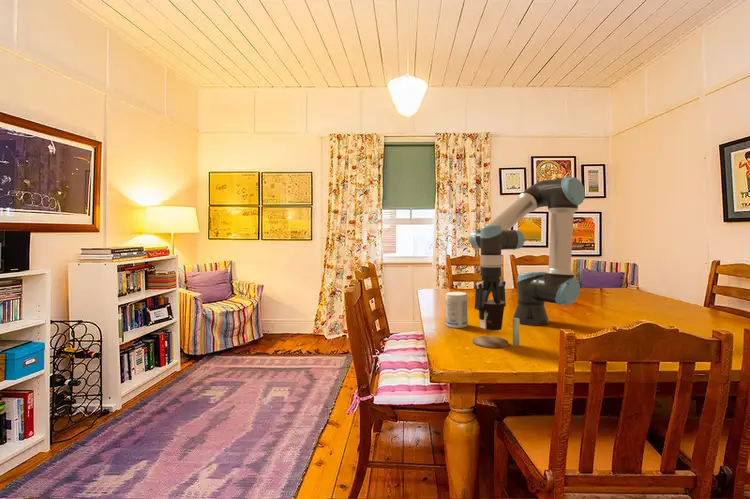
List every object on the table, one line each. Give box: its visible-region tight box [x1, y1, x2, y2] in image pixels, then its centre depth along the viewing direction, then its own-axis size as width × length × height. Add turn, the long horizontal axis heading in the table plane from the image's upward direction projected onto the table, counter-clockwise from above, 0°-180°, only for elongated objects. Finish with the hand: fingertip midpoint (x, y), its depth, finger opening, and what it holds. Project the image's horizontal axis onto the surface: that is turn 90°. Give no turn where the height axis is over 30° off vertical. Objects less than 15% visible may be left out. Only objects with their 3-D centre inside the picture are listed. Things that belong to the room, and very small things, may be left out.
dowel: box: [512, 317, 521, 347], centre depth 143 cm, size 2×2×10 cm
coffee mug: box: [484, 299, 505, 331], centre depth 146 cm, size 12×9×10 cm
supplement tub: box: [445, 291, 469, 329], centre depth 172 cm, size 10×10×15 cm
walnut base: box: [472, 335, 509, 349], centre depth 146 cm, size 13×13×1 cm
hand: (490, 326), depth 146 cm, fingers closed on coffee mug, 6 cm apart
